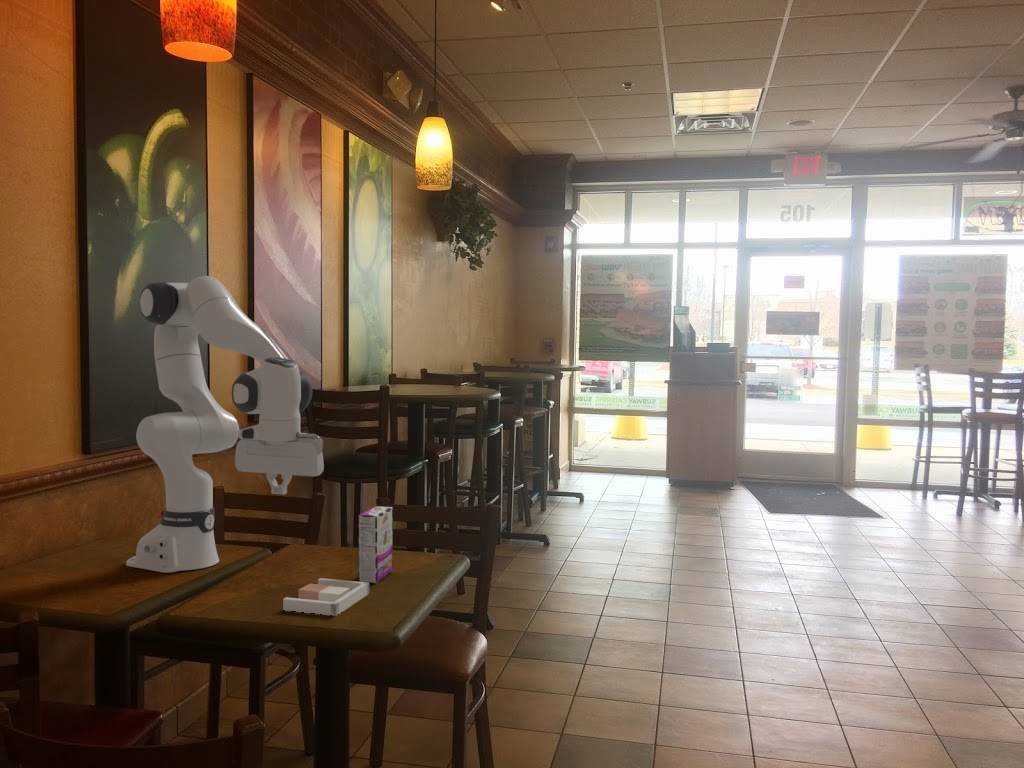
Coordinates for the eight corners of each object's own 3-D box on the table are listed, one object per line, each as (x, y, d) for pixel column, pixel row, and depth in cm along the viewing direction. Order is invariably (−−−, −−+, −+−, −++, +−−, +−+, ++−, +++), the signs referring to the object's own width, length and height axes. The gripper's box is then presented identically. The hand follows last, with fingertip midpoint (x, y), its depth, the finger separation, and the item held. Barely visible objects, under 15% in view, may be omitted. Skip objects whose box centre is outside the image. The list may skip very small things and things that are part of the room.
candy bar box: (374, 570, 200) (375, 505, 200) (393, 571, 199) (393, 506, 199) (357, 582, 189) (357, 514, 189) (376, 584, 188) (377, 515, 188)
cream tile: (318, 606, 172) (318, 592, 172) (329, 599, 177) (329, 585, 177) (339, 608, 171) (339, 594, 171) (349, 601, 176) (350, 588, 176)
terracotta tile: (298, 603, 174) (298, 589, 174) (309, 596, 179) (309, 583, 178) (319, 605, 173) (319, 591, 172) (329, 598, 177) (330, 585, 177)
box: (283, 610, 168) (283, 598, 168) (320, 588, 184) (320, 578, 184) (336, 616, 165) (336, 604, 165) (369, 593, 181) (369, 582, 181)
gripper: (329, 432, 176) (328, 494, 177) (247, 428, 181) (246, 488, 182) (315, 435, 170) (314, 499, 171) (231, 430, 175) (230, 493, 176)
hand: (279, 493), depth 176 cm, fingers closed
